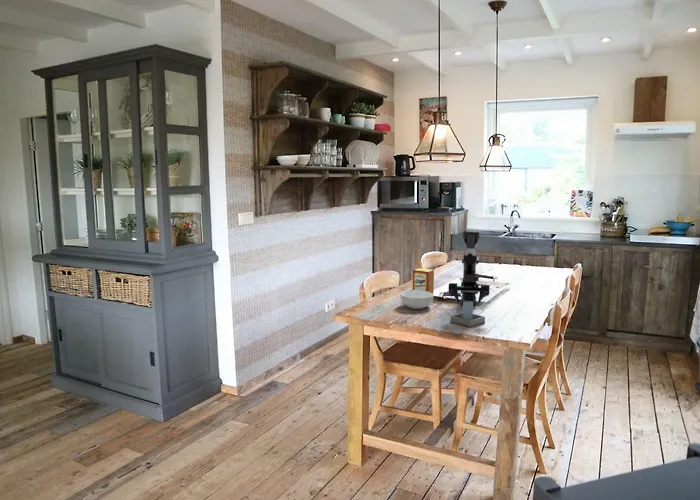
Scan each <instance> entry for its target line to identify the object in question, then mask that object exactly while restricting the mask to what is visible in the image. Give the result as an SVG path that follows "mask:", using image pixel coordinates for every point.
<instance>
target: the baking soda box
mask: <svg viewBox="0 0 700 500" xmlns="http://www.w3.org/2000/svg"><path fill="white" fill-rule="evenodd" d="M434 277H435V270H434V269H430V268H421V267H418V268H415V269H413V270H412V290H420V291H427V292H430V293H432V294H433V295H434V288H435V287H434V282H435V281H434V280H435V279H434Z"/></svg>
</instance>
